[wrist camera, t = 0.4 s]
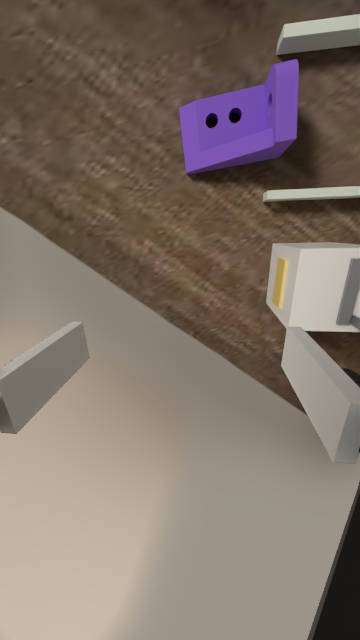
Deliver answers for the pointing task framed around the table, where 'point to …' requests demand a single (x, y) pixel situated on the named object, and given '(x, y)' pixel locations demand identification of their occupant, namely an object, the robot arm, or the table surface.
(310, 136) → the table surface
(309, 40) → the corral
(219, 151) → the bracket
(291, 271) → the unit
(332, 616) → the robot arm
